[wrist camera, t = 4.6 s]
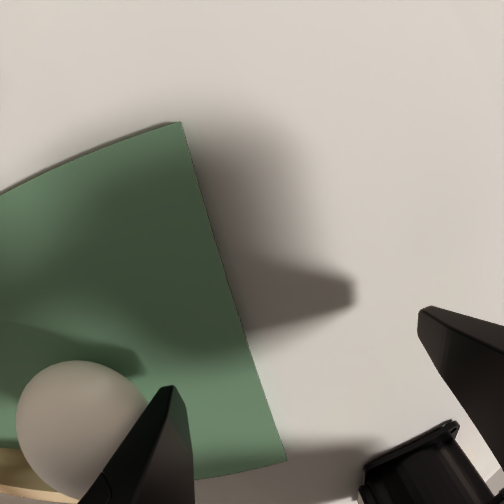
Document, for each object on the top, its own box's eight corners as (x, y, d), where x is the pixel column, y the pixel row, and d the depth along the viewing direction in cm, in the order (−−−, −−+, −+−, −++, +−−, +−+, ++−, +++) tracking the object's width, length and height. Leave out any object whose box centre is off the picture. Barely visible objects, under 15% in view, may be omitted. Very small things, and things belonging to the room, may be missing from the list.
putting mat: (181, 122, 8) (180, 121, 7) (285, 454, 13) (287, 460, 12) (-126, 284, 7) (-131, 287, 6) (5, 474, 12) (4, 479, 12)
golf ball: (137, 322, 9) (75, 448, 4) (191, 423, 10) (172, 533, 6) (32, 338, 9) (-36, 425, 5) (91, 425, 11) (56, 512, 6)
